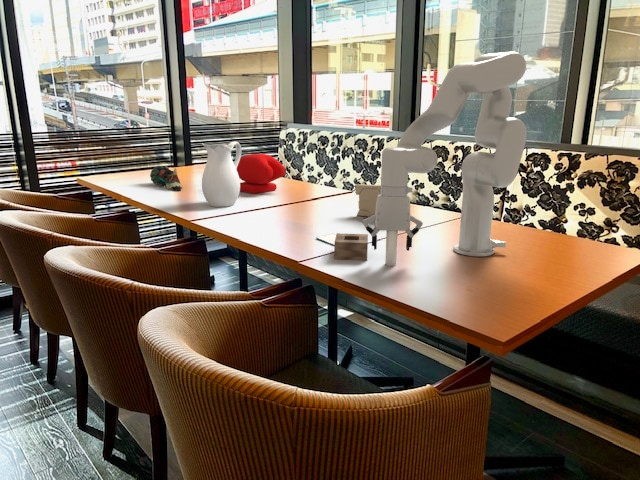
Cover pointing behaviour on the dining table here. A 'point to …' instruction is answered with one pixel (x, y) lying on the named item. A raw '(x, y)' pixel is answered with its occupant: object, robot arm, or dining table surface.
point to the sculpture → (166, 177)
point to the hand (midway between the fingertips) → (391, 248)
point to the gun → (367, 199)
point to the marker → (391, 248)
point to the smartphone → (328, 239)
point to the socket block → (351, 246)
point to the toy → (259, 173)
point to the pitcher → (221, 175)
